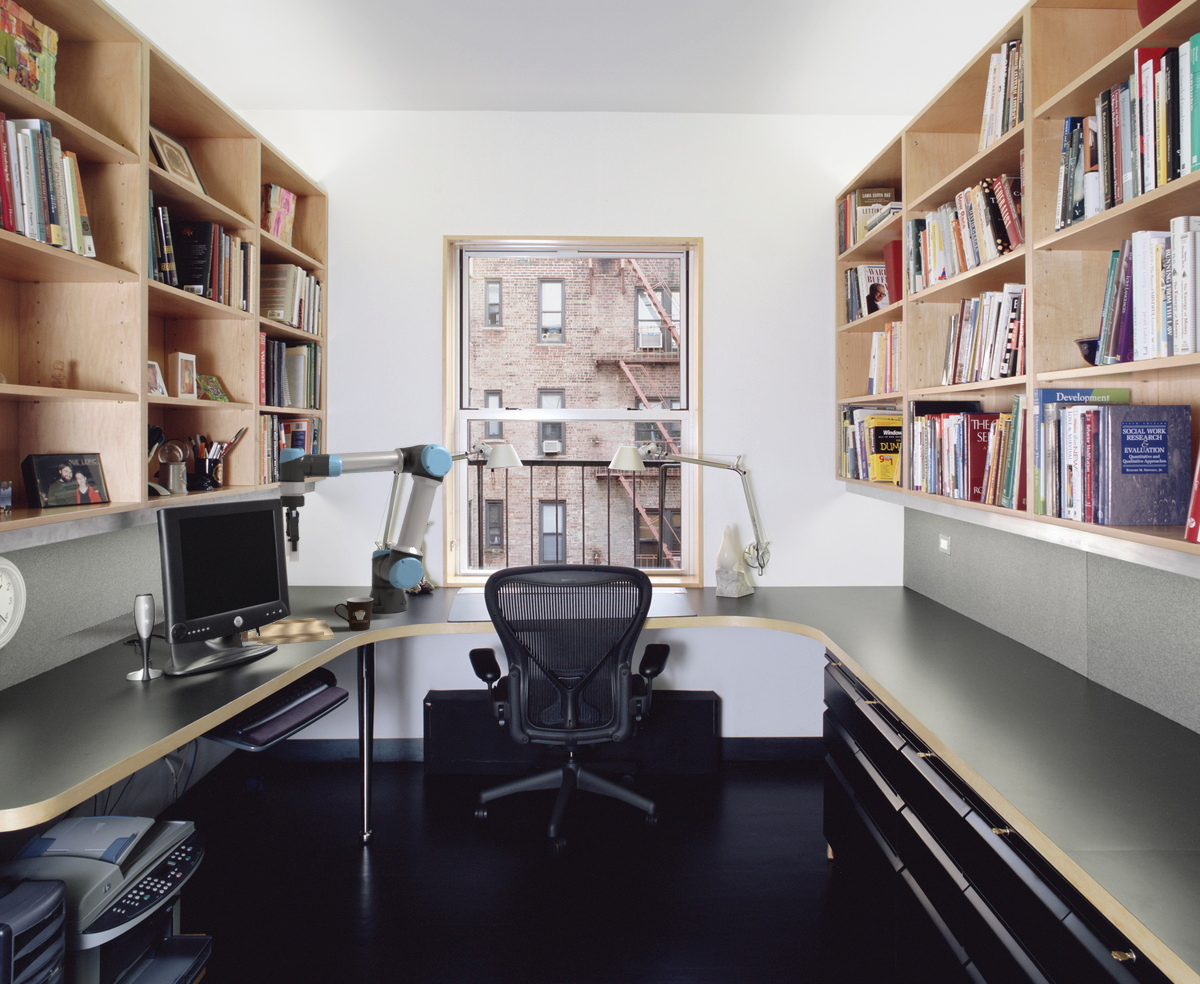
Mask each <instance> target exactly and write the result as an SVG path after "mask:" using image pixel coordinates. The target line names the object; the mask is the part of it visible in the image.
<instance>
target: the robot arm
mask: <svg viewBox="0 0 1200 984" xmlns="http://www.w3.org/2000/svg"><path fill="white" fill-rule="evenodd" d="M279 453H280V454H279V484H278V485H277V487H278V488H279V494H280V496H279V500H280V499H281V500H282V507H281V508H286V512H285V513H284V514H285V523H286V526H285V527H286V529H285V536H286V540H285V541H286V554H285V555H286V557H289V563H293V562H299V561H300V557H299V556H300V554H299V553H300V550H299V548H300V547H299V546H300V545H299V544H300V541H299V540H300V531H299V529H300V528H299V526H300V525H299V523H300V512H299V510H298V509H297V508H303V507H305V505H306V504H305V503H306V502H305V501H306V500H305V499H306V498H305V495H304V494H305V492H306V489H305V488H306V486H305V485H306V483H305V482H306V481H305V478H311V477H312V478H334V477H335V478H338V477H340V476H341V475H345V474H363V473H379V472H380V473H381V472H396V473H397V474H411V475H410V477H411V479H412V481H413V483H412V487H411V490H410V494H409V499H408V501H407V506H406V510H405V514H404V517H403V520H402V525H401V527H400V532H399V536H398V540H397V543H396V544H395V545H393V546H391V549H379V550H378V549H377V550H374V551H373V552H372V557H371V590H370V594H369V596H368V597H370V598H373V607H372V613H377V614H390V613H391V614H392V613H393V614H394V613H400V612H405V611H407V610H408V608H409V606H408V604H409V602H408V600H407V596H406V594H405V590H409V589H412V588H414V587H416V586H417V585H418V584H420V582H421V580H422V579H423V577H424V567H423V564H422V561H423V557H424V554H423V552H422V551H421V550H422V549H421V548H422V544H423V541H424V537H425V533H426V530H427V524H428V521H429V519H430V515H431V511H432V507H433V504H434V503H433V502H434V499H435V495H436V492H437V488H438V487H439V486H441V485H442V484H443V481H444V478H445V476H446V475H448V473H449V472H450V471H451V469H452V466H453V458H452V455H451V452H449V450H448V449H447V448H446V447H445V446H442V445H440V444H435V443H431V444H417V445H413V446H406V447H396V448H395V449H394V450H384V451H362V452H361V451H360V452H343V453H339V452H337V453H318V454H314V453H312V454H309V453H307V454H306V453H305V449H304V448H287V447H286V448H282V449H281V450H280V452H279ZM278 488H277V489H278Z"/></svg>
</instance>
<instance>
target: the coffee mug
mask: <svg viewBox="0 0 1200 984" xmlns="http://www.w3.org/2000/svg"><path fill="white" fill-rule="evenodd" d="M339 606H343V607H344V608H345V610H346V611H347V618H346V617H344V616H342V615H341V614H339V613H338V611H337V608H338V607H339ZM372 607H373V598H370V597H369V596H356V597H349V598H346V604H345V603H338V604H336V605H335V606H334V609H333V610H334V613H335V614H336V615H337V616H338V617H339V618H341V619H343V620H345V621H346V622H347V623H348V628H349V631H352V632H364V631H368V630H370V627H371V621H372V615H373V614H372V613H373V612H372Z"/></svg>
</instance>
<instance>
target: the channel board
mask: <svg viewBox="0 0 1200 984" xmlns="http://www.w3.org/2000/svg"><path fill="white" fill-rule="evenodd" d="M276 621H277V622H275V623H272V624H269V625H267V626H263V627H261V628H260V629H259V630H260V636H259V637H257V636H256V631H252V632H248V631H246V632H242V633H241V637H242V642H257V643H263V644H275V645H283V644H284V645H285V644H295V643H305V642H317V641H318V642H319V641H327V640H335V633H334V632H333V630H332V629H331V627H330V626H329V625H328V624H327V621H326V620H325V619H320V620H316V617H313V618H312V617H311V618H298V619H287V620H286V619H285V620H284V619H283V620H281V619H280V620H276ZM250 634H251V636H250V637H248V635H250Z"/></svg>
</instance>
